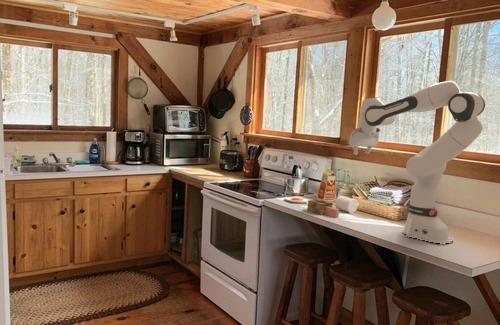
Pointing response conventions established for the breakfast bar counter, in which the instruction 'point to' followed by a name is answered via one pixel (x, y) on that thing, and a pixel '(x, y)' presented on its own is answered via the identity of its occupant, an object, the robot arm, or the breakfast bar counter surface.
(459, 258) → the breakfast bar counter surface
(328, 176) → the milk carton
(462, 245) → the breakfast bar counter surface
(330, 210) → the orange rectangular bar
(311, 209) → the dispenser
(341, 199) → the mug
